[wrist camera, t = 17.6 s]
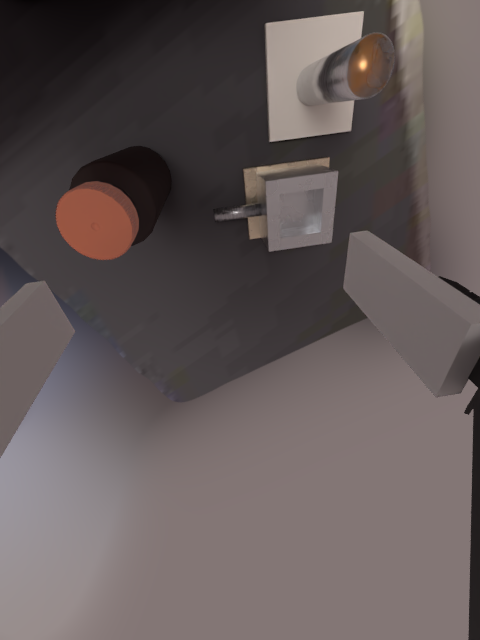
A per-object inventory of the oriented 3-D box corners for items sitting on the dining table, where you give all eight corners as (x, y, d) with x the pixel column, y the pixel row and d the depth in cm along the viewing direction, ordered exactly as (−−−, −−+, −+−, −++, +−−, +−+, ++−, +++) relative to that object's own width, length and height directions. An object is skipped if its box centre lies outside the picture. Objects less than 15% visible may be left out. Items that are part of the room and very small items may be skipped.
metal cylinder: (305, 113, 32) (356, 110, 22) (290, 79, 30) (338, 58, 20) (333, 90, 31) (400, 75, 21) (319, 54, 29) (386, 17, 19)
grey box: (207, 173, 35) (209, 184, 29) (326, 156, 36) (352, 164, 30) (218, 241, 41) (221, 262, 35) (321, 226, 41) (342, 244, 35)
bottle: (146, 132, 32) (91, 145, 16) (182, 186, 36) (168, 240, 20) (102, 167, 34) (13, 210, 18) (142, 215, 37) (98, 288, 21)
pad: (264, 25, 28) (265, 23, 27) (360, 13, 28) (363, 11, 28) (268, 141, 34) (270, 142, 33) (348, 130, 34) (350, 130, 34)
